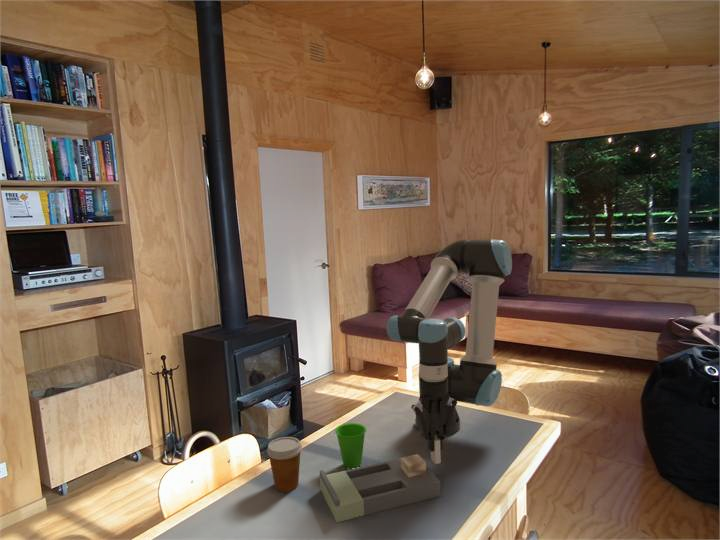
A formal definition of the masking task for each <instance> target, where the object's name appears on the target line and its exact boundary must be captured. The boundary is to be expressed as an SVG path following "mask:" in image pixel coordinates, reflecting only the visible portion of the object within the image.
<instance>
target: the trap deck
mask: <svg viewBox="0 0 720 540" xmlns="http://www.w3.org/2000/svg"><path fill="white" fill-rule="evenodd" d="M401 458H402V457H400V458H396V459H395V458H394V459H391V460H387V461H382V462H377V463H374V464H368V465H364V466H360V467H359V468H355V469H346V470H342V471H337V472H332V473H329V474H326V473H325V471H324V470H323V469H322V470H319V482H320V483H319V485H320V492H321V491H322V492H321V493H323V494H322V496H323V495H324V496H323V498H324V499H325V501H326V504H327V506H328V508H329V510H330V512H331V514H332V515H333V518H334V520H335V522H336V523H341V522H343V521H347V520H351V519H355V517H356V518H359V516H360V517H364V516H367V515H371V514H375V513H379V512H384V511H386V510H387V511H388V510H390V509H394V508H398V507H403V506H406V505H410V504H414V503H418V502H422V501H426V500H430V499H435V498H438V497H441V480H440V479H439V478H438V477H436V475H435V474H434V473H433V472H432V471H431V470H430V469H429V468H428V466H426V473H425V474H421V475H416V476H412V477H408V476H407V474H406V473H405V472H404V471H403V470H402V469H401Z"/></svg>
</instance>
